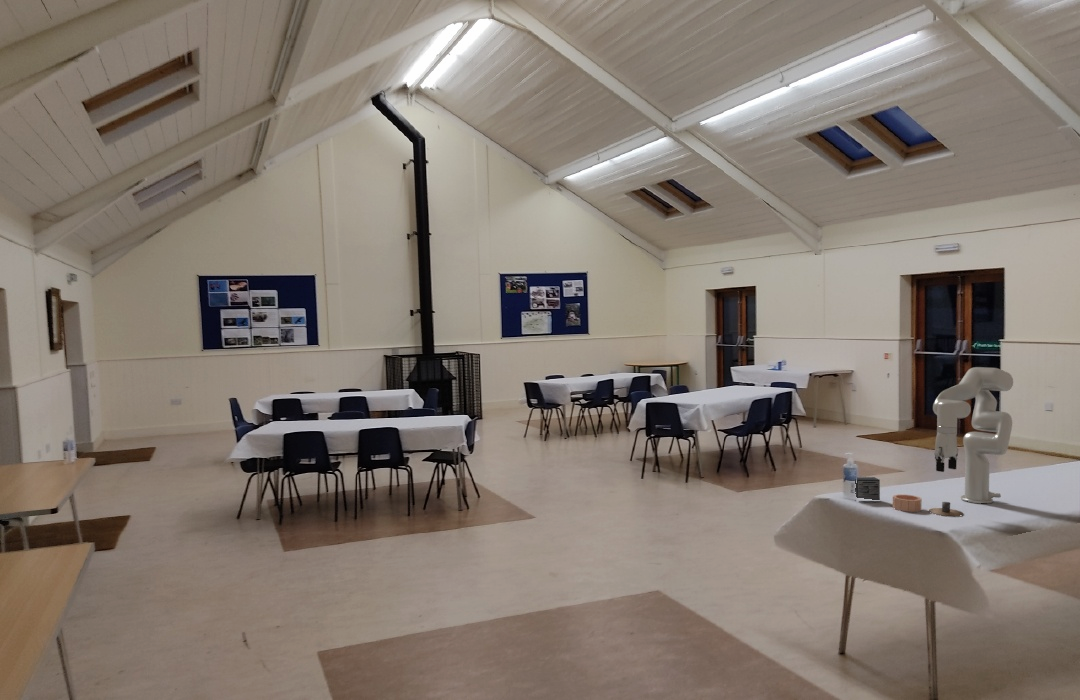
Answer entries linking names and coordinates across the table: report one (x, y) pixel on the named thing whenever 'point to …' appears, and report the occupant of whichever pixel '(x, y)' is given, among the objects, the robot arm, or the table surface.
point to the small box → (867, 488)
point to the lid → (945, 510)
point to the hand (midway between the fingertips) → (946, 470)
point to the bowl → (907, 503)
